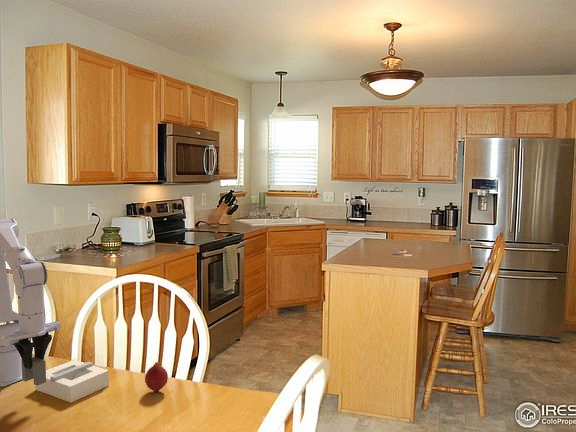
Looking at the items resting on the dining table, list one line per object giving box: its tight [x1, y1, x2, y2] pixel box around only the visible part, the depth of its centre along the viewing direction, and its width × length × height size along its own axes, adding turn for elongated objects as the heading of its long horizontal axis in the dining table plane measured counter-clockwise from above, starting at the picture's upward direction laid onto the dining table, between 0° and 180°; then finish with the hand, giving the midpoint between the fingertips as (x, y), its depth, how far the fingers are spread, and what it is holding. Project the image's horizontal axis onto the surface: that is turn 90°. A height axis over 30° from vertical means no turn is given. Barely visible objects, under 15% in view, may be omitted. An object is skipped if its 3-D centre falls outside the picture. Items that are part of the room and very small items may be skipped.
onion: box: [144, 361, 169, 393], centre depth 139 cm, size 6×6×8 cm
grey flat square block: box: [21, 356, 47, 386], centre depth 131 cm, size 6×2×6 cm, turn 60°
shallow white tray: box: [35, 359, 110, 403], centre depth 141 cm, size 14×12×5 cm
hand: (33, 365), depth 130 cm, fingers closed on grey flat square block, 2 cm apart
